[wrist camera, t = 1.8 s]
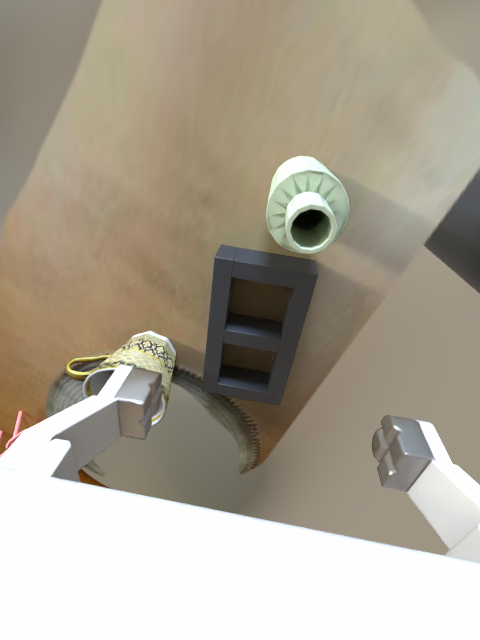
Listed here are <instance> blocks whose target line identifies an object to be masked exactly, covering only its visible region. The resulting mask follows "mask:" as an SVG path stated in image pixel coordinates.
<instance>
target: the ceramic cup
mask: <svg viewBox="0 0 480 640" xmlns="http://www.w3.org/2000/svg"><path fill="white" fill-rule="evenodd" d="M175 358H176V351H175V349H174V348H173V346H172V344H171V343H170V341H169V339H168V338H166V337H164V336H161V335H159V334H156V333H154V332H152V331H148V332H145V333H141V334H138V335H135V336H133V337H132V338H131V339H130V340H129V341H128V342H127V343H125V344H124V345H123V346H122V347H121V348H119V349H118V350H117V351H116V352H115V353H113V354H110V355H102V356H97V357H89V358H77V359H73V360H71V361H70V362H69V363H68V364H67V366H66V372H67V375H68V376H69V377H71V378H72V379H74V380H78V381H84V384H83V395H84V398H85V399H87V398H89V397H91V396H93V395H94V396H98V394H99V393H100V391H101V390H102V388H103V387H104V386H105V384H106V383H107V381H108V380H109V378H110V377H111V376H112V374H113V373H114V371H115V370H116V368H117V367H118V366H120V365H121V364H122V365H126V366H131V367H137V368H142V369H147V370H151V371H156V372H160V373H162V382H161V384H160V387H161V389H162V398H161V403H160V406H159V409H158V412H157V414H156V415H155V416H153V417H152V425H151V427H152V426H154V425H156V424H158V423H159V422H160V421H161V420H162V419H163V417H164V415H165V412H166V408H167V403H168V399H169V393H170V386H171V378H172V373H173V368H174V363H175ZM98 360H105V361H104V362H103V363H101V364H100V365H99V366H98V367H97V368H95V369H94V370H92V371H90V372H77V371H73V370H71V369H70V366H71V365H72V364H74V363H79V362H93V361H98Z"/></svg>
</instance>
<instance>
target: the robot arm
mask: <svg viewBox="0 0 480 640" xmlns="http://www.w3.org/2000/svg"><path fill="white" fill-rule="evenodd" d="M161 382H162V373H160V372H156V371H151V370H147V369H142V368H137V367H131V366H126V365H122V364H121V365H120V366H118V367H117V368H116V370H115V371H114V373H113V374H112V376H111V377H110V378H109V380H108V381H107V383H106V384H105V386H104V387H103V388H102V390H101V391H100V393H99V394H98V396H94V395H93V396H91V397H89V398H87V399H85V400H83V401H81V402H79V403H77V404H75V405H73V406H71V407H69V408H67V409H65V410H63V411H61V412H60V413H58V414H56V415H54V416H52V417H50V418H48V419H46V420H44V421H42V422H40V423H38V424H36V425H34V426H32V427H30V428H28V429H26V430H24V431H23V432H22V433H21V435H20V436H19V437H18V438H17V439H16V440H15V442H14V443H13V444H12V445H11V446H10V447H9V448H8V450H7V451H6V452H5V453H4V454H3V455H2V457H1V458H0V640H480V485H479V484H478V483H477V482H476V481H474V480H473V479H472V478H471V477H470V476H469V475H468V474H467V473H465V472H464V471H463V470H462V469H461V468H460V467H459V466H458V465H454V464H452V462H451V460H450V458H449V456H448V454H447V452H446V450H445V448H444V446H443V444H442V442H441V440H440V438H439V436H438V434H437V432H436V430H435V428H434V426H433V425H432V424H431V423H429V422H424V421H418V420H412V419H407V418H401V417H395V416H389V415H386V416H385V417H384V418H383V419H382V421H381V424H382V427H381V428H379V429H377V430H376V431H375V433H374V436H373V439H372V451H373V455H374V457H375V458H376V459H377V461H378V462H379V463H380V464H379V466H378V467H377V470H378V474H379V477H380V481H381V484H382V487H387V488H391V489H396V490H400V491H405V492H407V494H408V496H409V497H410V498H411V500H412V501H413V502H414V504H415V505H416V506H417V507H418V508H419V510H420V511H421V513H422V514H423V515H424V517H425V518H426V519H427V521H428V522H429V523H430V525H431V526H432V527H433V529H434V530H435V531H436V532H437V534H438V535H439V536H440V538H441V539H442V540H443V542H444V543H445V544H446V546H447V547H448V548H449V551H448V552H447V553H446V554H445V555H438V554H433V553H428V552H423V551H418V550H413V549H408V548H403V547H398V546H393V545H388V544H383V543H378V542H373V541H368V540H363V539H358V538H353V537H348V536H343V535H338V534H333V533H328V532H323V531H318V530H313V529H308V528H303V527H298V526H293V525H288V524H283V523H278V522H273V521H268V520H264V519H258V518H254V517H248V516H244V515H239V514H234V513H229V512H224V511H218V510H214V509H209V508H204V507H199V506H194V505H189V504H184V503H179V502H174V501H169V500H164V499H159V498H154V497H149V496H144V495H139V494H134V493H129V492H124V491H119V490H114V489H109V488H104V487H99V486H95V485H90V484H85V483H80V479H79V475H78V471H79V470H80V469H81V468H83V467H84V466H85V465H86V464H88V463H89V462H90V461H91V460H93V459H94V458H95V457H96V456H98V455H99V454H100V453H101V452H103V451H104V450H105V449H107V448H108V447H109V446H111V445H112V444H113V443H114V442H116V441H117V440H118V439H119V438H121V436H124V437H130V438H136V439H142V440H145V438H146V436H147V434H148V432H149V430H150V427H151V425H152V417H153V416H155V415H156V414H157V412H158V409H159V406H160V403H161V398H162V389H161V387H160V384H161Z"/></svg>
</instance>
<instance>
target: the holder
mask: <svg viewBox="0 0 480 640" xmlns="http://www.w3.org/2000/svg"><path fill="white" fill-rule="evenodd" d="M317 276H318V273H317V269H316V264H315V261H314V260H308V259H302V258H296V257H291V256H285V255H279V254H273V253H267V252H261V251H255V250H249V249H244V248H237V247H232V246H226V245H221V246H220V248H219V250H218V252H217V254H216V256H215V260H214V270H213V281H212V292H211V302H210V313H209V323H208V334H207V344H206V355H205V366H204V376H203V387H202V391H203V392H208V393H213V394H219V395H224V396H230V397H235V398H240V399H246V400H251V401H257V402H262V403H267V404H273V405H278V406H280V403H281V400H282V397H283V393H284V390H285V386H286V383H287V379H288V376H289V373H290V369H291V366H292V362H293V359H294V355H295V352H296V348H297V345H298V342H299V338H300V335H301V331H302V328H303V324H304V321H305V318H306V314H307V311H308V307H309V304H310V300H311V297H312V293H313V290H314V287H315V283H316V280H317ZM234 278H237V279H243V280H249V281H255V282H261V283H266V284H272V285H278V286H284V287H290V290H289V294H288V298H287V302H286V306H285V310H284V314H283V318H282V323H281V322H278V321H272V320H267V319H261V318H255V317H250V316H244V315H238V314H233V313H230V305H231V298H232V290H233V283H234ZM225 343H226V344H232V345H237V346H243V347H248V348H254V349H260V350H265V351H271V352H274V355H273V359H272V363H271V367H270V372H269V373H266V372H261V371H255V370H250V369H244V368H239V367H233V366H227V365H223V357H224V350H225Z"/></svg>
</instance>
